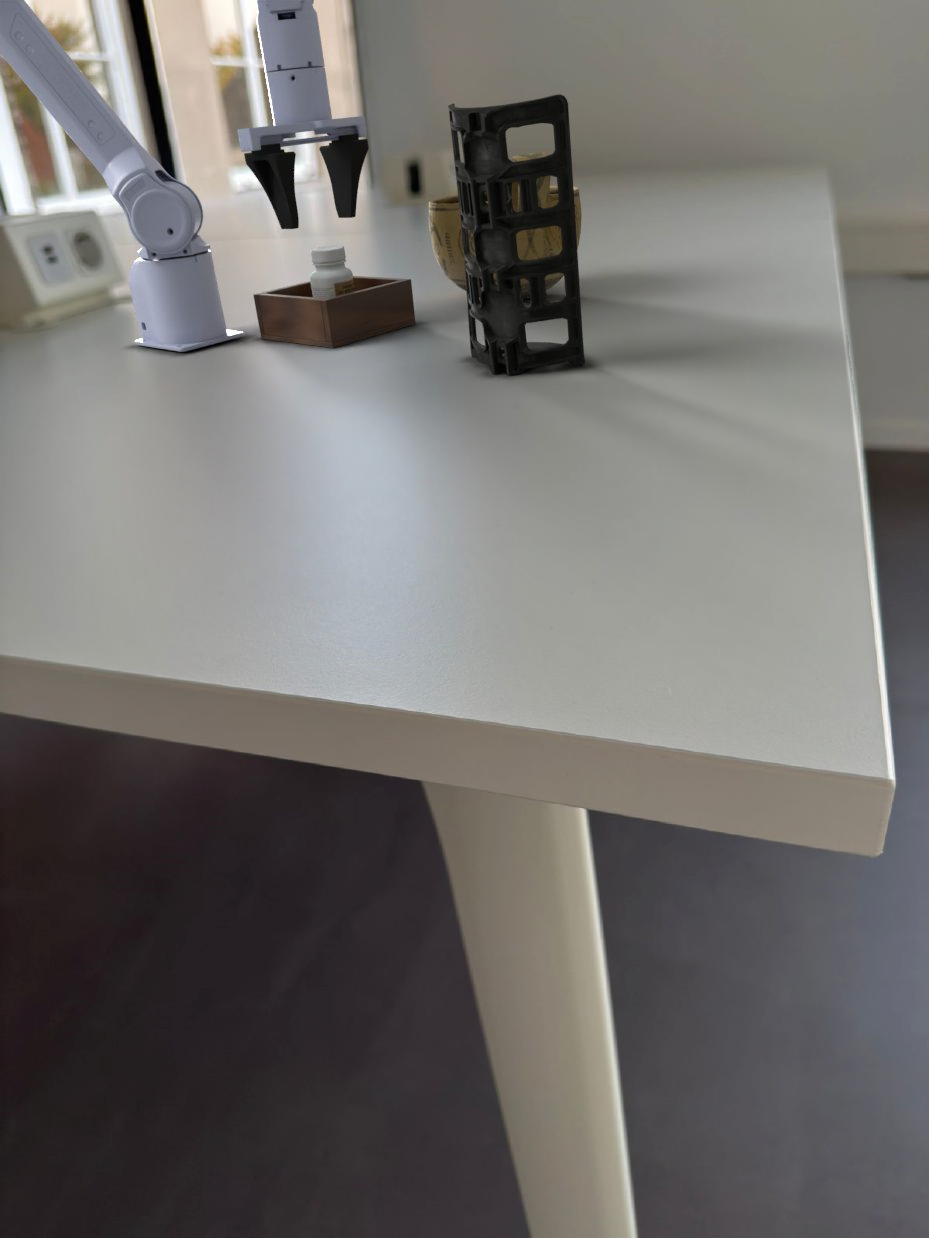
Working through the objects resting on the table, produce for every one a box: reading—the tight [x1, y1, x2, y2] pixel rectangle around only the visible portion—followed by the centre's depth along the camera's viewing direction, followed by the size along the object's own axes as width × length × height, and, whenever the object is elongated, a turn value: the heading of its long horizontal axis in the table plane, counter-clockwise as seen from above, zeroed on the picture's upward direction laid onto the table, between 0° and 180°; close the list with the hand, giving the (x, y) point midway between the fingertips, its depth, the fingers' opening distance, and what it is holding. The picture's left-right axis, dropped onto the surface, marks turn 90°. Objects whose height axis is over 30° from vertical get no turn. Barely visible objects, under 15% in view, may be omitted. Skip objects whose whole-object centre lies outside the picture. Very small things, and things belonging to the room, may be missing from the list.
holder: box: [447, 93, 586, 376], centre depth 74 cm, size 11×8×20 cm
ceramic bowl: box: [428, 151, 582, 300], centre depth 105 cm, size 22×17×15 cm
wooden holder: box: [253, 275, 417, 349], centre depth 98 cm, size 12×12×4 cm
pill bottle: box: [309, 245, 355, 299], centre depth 97 cm, size 4×4×8 cm
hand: (319, 223), depth 97 cm, fingers open, 7 cm apart
